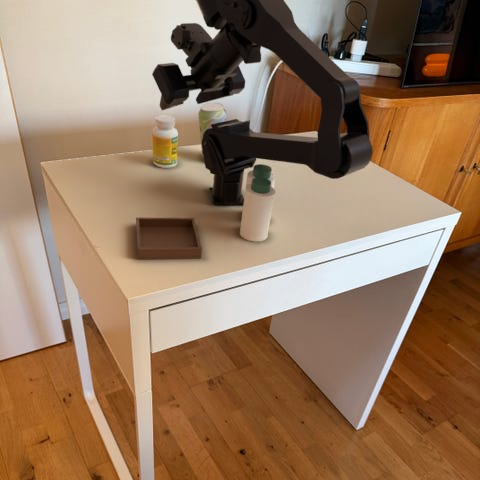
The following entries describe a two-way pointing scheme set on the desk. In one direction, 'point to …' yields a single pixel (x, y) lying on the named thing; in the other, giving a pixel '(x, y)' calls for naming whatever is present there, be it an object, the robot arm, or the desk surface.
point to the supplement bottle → (165, 142)
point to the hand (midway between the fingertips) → (179, 104)
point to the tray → (167, 238)
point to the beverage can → (210, 116)
